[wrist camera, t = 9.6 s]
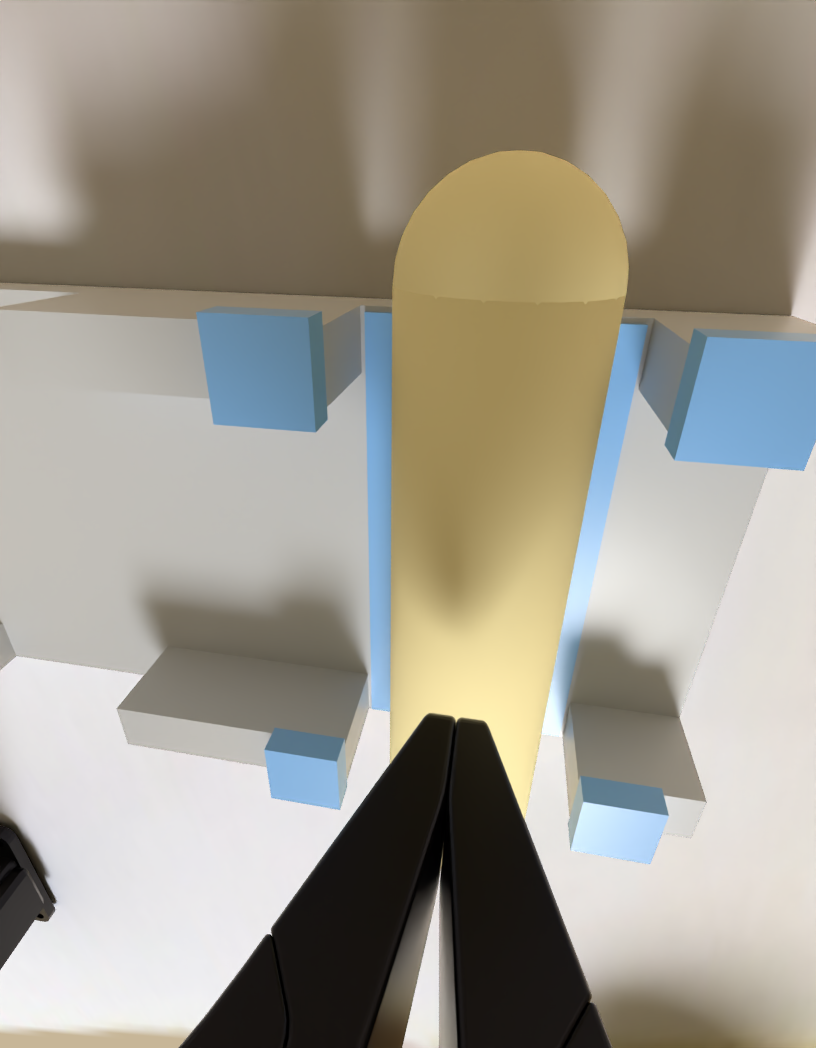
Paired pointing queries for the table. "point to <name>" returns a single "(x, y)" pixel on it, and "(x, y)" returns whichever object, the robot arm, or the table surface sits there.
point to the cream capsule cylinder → (495, 437)
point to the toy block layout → (361, 528)
